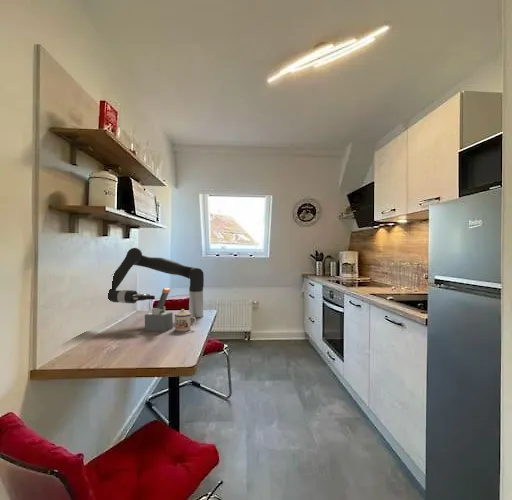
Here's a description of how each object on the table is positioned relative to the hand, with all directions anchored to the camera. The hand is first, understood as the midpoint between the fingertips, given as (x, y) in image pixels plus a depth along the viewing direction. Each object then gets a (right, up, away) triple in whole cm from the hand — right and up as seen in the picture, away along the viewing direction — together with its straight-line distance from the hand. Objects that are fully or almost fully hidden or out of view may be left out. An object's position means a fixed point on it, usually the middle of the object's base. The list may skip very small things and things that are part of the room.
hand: (154, 297), depth 205 cm
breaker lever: (+2, -8, 0) cm, 9 cm away
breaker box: (+3, -18, 0) cm, 18 cm away
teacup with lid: (+18, -18, -2) cm, 26 cm away
